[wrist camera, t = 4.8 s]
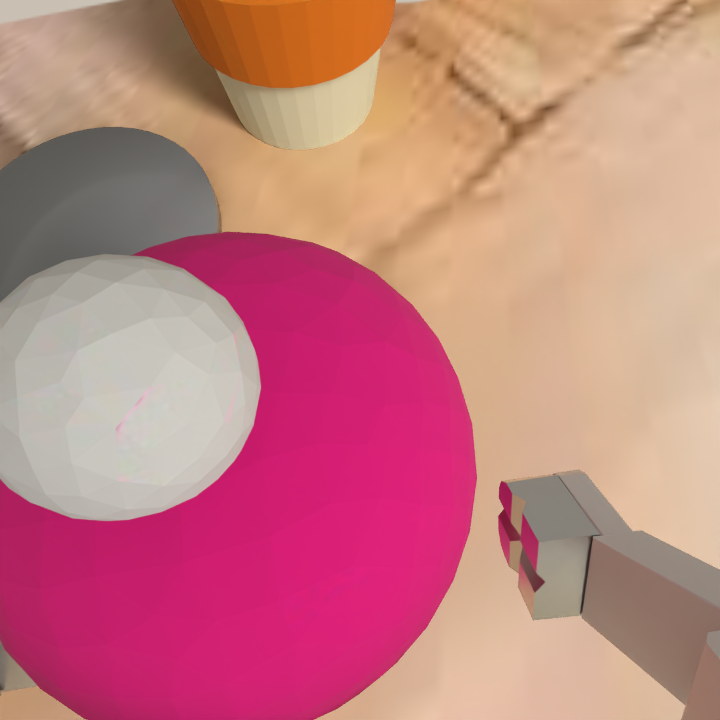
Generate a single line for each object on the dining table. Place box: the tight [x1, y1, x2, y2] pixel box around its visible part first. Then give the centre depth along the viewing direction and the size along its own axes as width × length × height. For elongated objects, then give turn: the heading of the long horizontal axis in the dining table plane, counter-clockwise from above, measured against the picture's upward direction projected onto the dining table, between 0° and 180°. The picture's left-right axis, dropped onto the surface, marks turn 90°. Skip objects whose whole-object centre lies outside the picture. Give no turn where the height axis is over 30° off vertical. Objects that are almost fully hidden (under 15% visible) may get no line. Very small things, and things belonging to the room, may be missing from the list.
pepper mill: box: [0, 232, 477, 720], centre depth 12 cm, size 7×7×20 cm
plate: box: [0, 127, 221, 302], centre depth 26 cm, size 14×14×1 cm
